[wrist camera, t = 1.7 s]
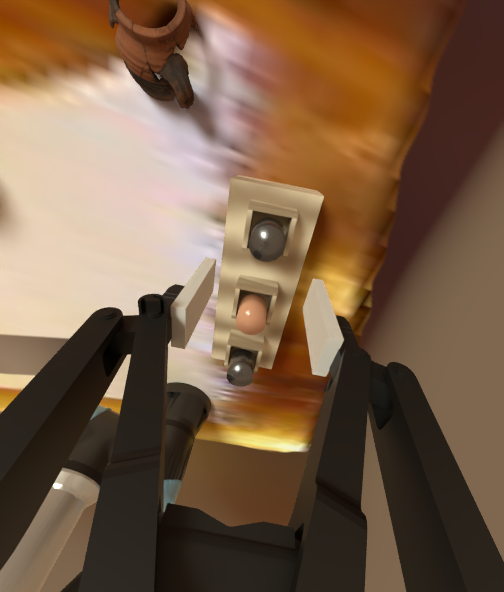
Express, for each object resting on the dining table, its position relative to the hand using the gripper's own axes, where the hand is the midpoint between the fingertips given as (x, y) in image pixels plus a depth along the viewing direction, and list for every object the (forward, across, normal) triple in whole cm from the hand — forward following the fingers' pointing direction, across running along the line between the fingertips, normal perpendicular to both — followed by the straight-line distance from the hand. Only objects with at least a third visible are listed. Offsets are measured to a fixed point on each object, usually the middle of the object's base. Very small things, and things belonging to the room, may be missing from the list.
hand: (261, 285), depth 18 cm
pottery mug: (+23, +16, -16) cm, 33 cm away
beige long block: (+23, 0, +11) cm, 26 cm away
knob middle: (+14, 0, +11) cm, 18 cm away
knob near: (+14, 0, 0) cm, 14 cm away
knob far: (+14, 0, +22) cm, 26 cm away
